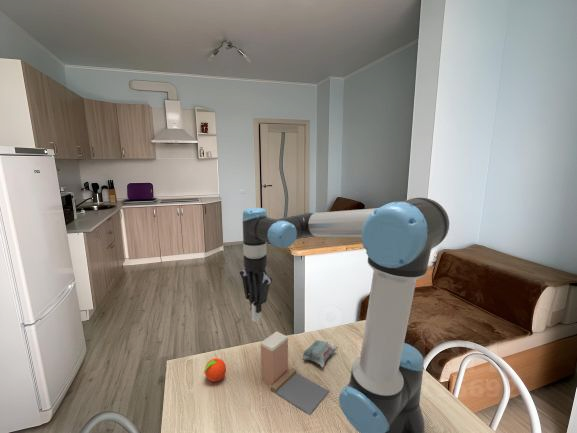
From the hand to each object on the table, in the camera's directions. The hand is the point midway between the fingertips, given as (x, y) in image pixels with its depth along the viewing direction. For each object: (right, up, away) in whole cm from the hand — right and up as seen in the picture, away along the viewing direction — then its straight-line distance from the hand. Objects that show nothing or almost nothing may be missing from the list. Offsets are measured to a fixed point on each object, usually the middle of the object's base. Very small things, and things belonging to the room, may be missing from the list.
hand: (256, 319), depth 102 cm
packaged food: (+23, -17, +8) cm, 30 cm away
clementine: (-14, -19, -3) cm, 24 cm away
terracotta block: (+7, -19, -1) cm, 20 cm away
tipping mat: (+15, -20, -8) cm, 26 cm away
